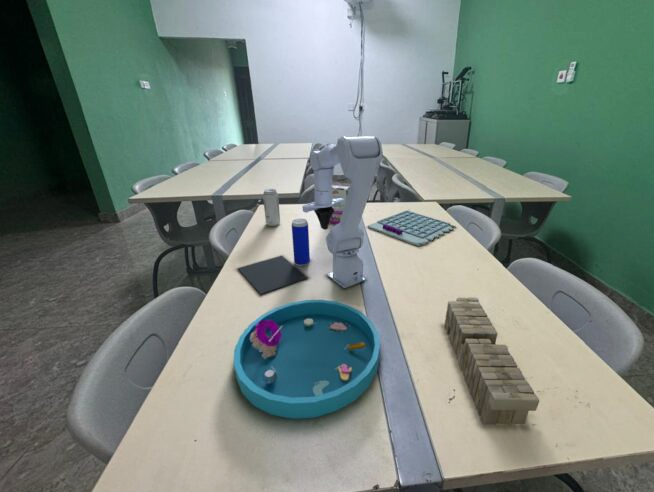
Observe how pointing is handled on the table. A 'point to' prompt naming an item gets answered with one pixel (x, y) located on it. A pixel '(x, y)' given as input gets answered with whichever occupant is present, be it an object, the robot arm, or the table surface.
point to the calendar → (412, 227)
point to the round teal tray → (307, 358)
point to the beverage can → (300, 242)
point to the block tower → (487, 366)
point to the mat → (272, 274)
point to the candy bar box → (338, 210)
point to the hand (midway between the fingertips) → (324, 228)
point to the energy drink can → (271, 207)
